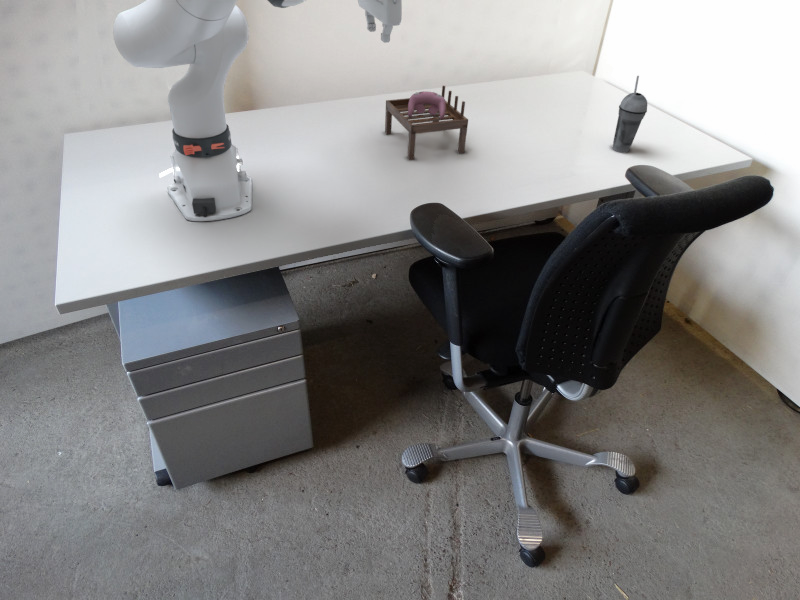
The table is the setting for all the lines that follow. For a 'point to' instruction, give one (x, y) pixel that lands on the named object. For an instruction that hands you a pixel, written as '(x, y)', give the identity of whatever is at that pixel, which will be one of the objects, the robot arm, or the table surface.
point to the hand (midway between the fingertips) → (378, 36)
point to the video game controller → (427, 97)
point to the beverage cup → (629, 120)
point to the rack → (437, 125)
